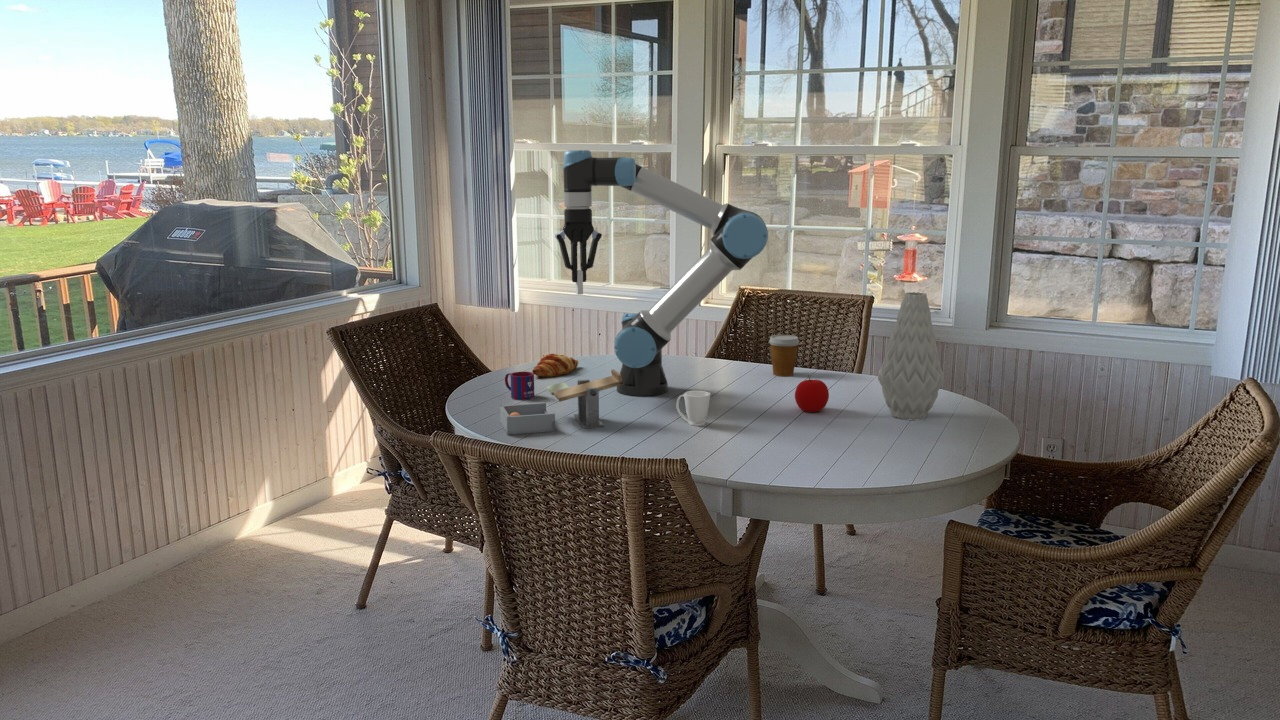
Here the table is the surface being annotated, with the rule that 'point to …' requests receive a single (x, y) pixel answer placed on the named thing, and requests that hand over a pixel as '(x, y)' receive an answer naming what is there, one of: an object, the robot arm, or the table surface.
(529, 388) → the cup
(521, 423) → the tray
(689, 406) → the cup
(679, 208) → the robot arm
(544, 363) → the croissant
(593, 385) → the lever
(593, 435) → the table surface
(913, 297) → the vase
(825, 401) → the fruit
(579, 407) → the fulcrum
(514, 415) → the ball
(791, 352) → the disposable coffee cup
